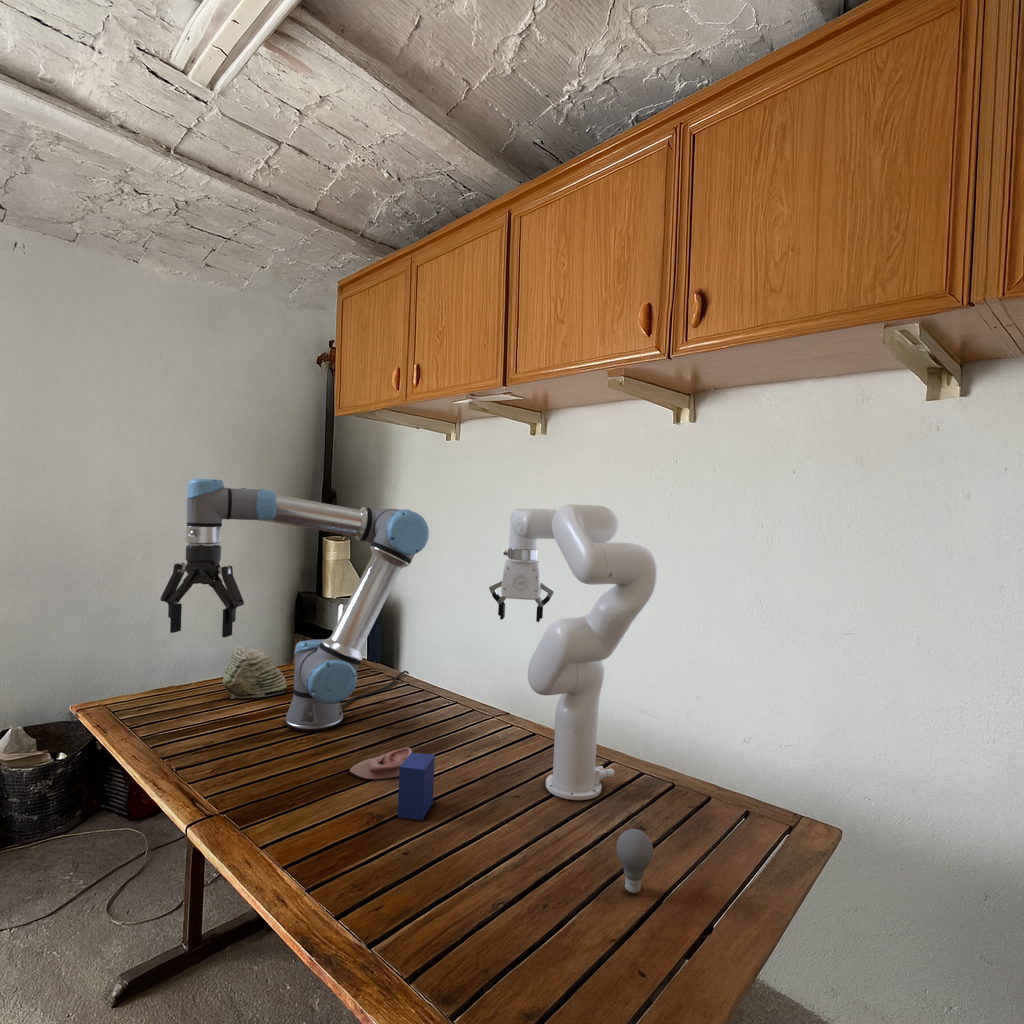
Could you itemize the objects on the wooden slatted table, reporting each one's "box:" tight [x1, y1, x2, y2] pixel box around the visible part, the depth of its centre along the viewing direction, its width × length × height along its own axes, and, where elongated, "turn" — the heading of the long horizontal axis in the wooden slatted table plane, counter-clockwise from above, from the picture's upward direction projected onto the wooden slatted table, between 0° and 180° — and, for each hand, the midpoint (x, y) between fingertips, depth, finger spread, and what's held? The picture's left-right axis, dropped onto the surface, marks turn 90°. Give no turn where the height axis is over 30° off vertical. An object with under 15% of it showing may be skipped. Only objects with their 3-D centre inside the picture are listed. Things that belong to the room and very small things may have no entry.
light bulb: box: [615, 828, 654, 894], centre depth 106 cm, size 6×6×10 cm
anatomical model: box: [349, 747, 413, 780], centre depth 148 cm, size 13×4×12 cm
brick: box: [396, 752, 436, 821], centre depth 130 cm, size 5×8×10 cm
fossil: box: [222, 646, 288, 699], centre depth 198 cm, size 9×18×15 cm, turn 132°
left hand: (201, 634), depth 150 cm, fingers open, 13 cm apart
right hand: (520, 619), depth 168 cm, fingers open, 9 cm apart
